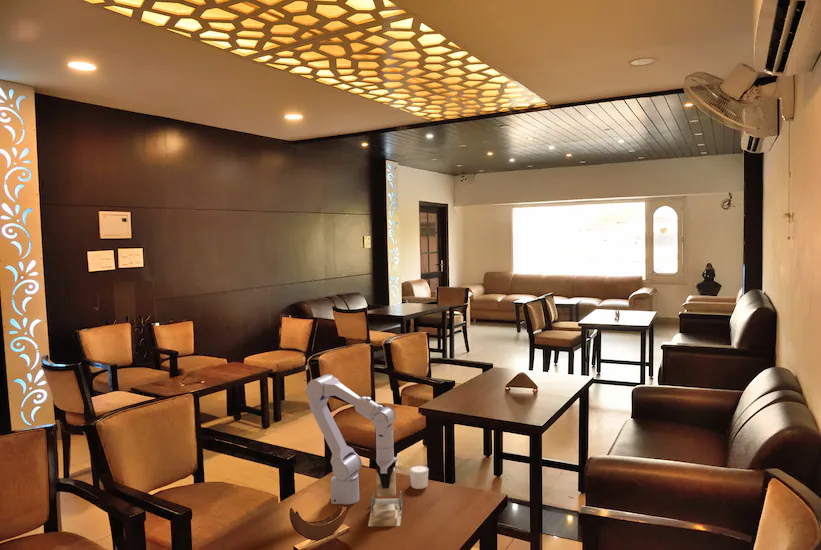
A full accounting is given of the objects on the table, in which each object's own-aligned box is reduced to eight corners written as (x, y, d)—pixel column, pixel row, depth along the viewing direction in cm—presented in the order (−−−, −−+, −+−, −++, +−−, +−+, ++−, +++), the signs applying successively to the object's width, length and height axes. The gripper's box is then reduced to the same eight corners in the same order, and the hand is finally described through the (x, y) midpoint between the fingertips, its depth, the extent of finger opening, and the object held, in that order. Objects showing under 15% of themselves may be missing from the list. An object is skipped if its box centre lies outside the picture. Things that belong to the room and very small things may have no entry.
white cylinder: (429, 483, 201) (429, 465, 201) (428, 492, 194) (427, 473, 194) (410, 483, 202) (410, 464, 202) (409, 492, 195) (408, 472, 195)
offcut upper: (375, 518, 171) (374, 512, 171) (373, 511, 176) (373, 505, 176) (395, 516, 172) (395, 510, 172) (394, 509, 177) (393, 503, 176)
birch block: (377, 496, 182) (376, 471, 181) (377, 492, 184) (377, 467, 184) (395, 496, 181) (394, 470, 181) (395, 492, 184) (395, 467, 183)
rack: (367, 529, 171) (367, 513, 170) (373, 504, 187) (372, 490, 186) (400, 528, 170) (399, 513, 170) (402, 504, 186) (402, 489, 186)
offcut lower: (371, 524, 172) (371, 518, 172) (372, 516, 177) (372, 510, 177) (397, 524, 171) (396, 517, 171) (398, 516, 176) (397, 509, 176)
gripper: (395, 453, 174) (397, 495, 175) (398, 437, 189) (399, 476, 190) (373, 454, 175) (374, 496, 175) (377, 437, 189) (378, 476, 190)
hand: (386, 485), depth 183 cm, fingers closed on birch block, 3 cm apart
